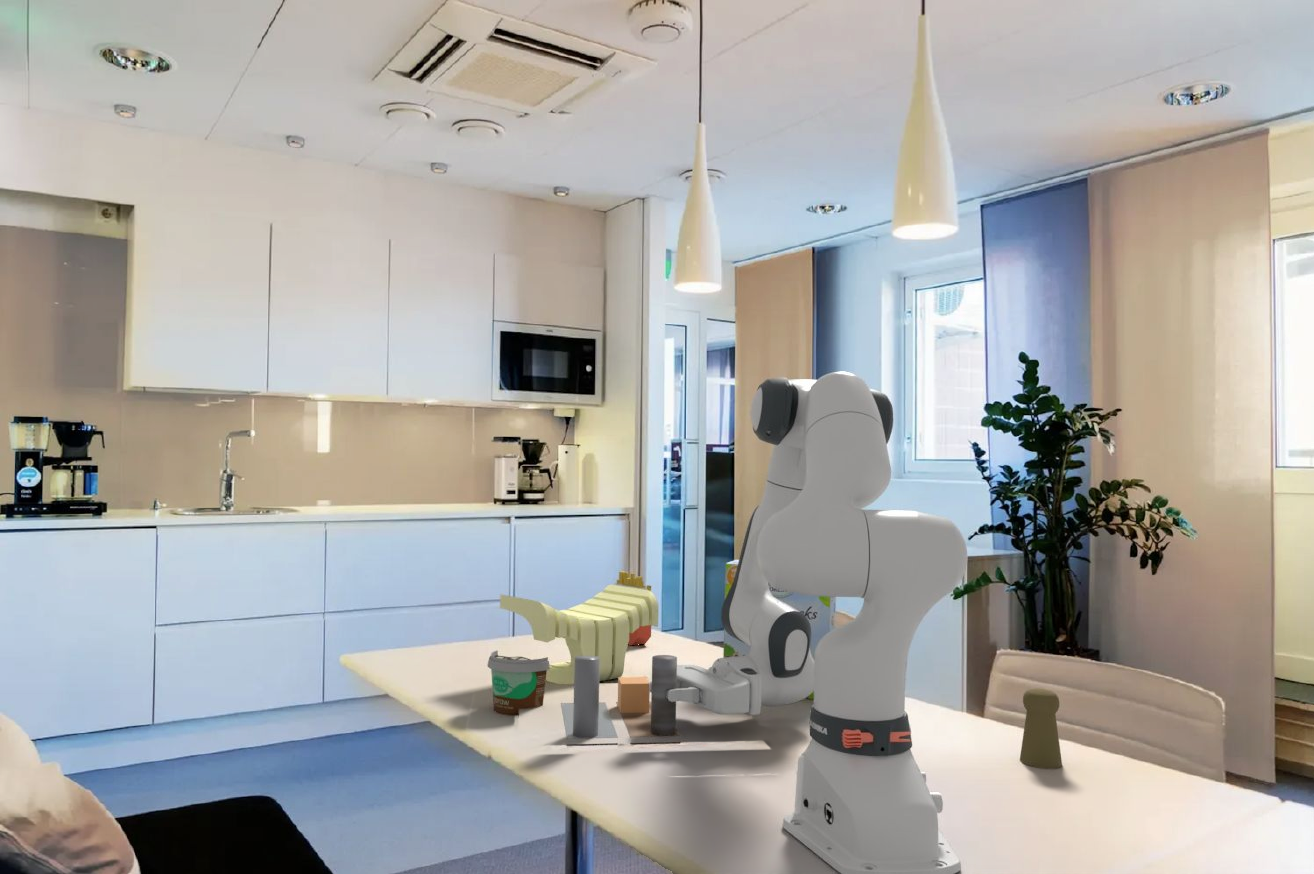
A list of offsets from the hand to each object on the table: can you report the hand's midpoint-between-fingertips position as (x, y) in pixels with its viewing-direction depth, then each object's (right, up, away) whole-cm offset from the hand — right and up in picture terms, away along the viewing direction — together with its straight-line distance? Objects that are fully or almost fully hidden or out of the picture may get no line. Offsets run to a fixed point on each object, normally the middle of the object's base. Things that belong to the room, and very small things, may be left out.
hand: (659, 691), depth 145 cm
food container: (-26, -8, +15) cm, 32 cm away
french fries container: (-7, -12, +85) cm, 86 cm away
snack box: (+24, -10, +36) cm, 44 cm away
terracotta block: (-5, -7, +15) cm, 17 cm away
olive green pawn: (+59, -9, -6) cm, 60 cm away
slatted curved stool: (-17, -10, +44) cm, 48 cm away
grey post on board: (-2, -8, +9) cm, 12 cm away
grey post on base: (-12, -8, +7) cm, 16 cm away
